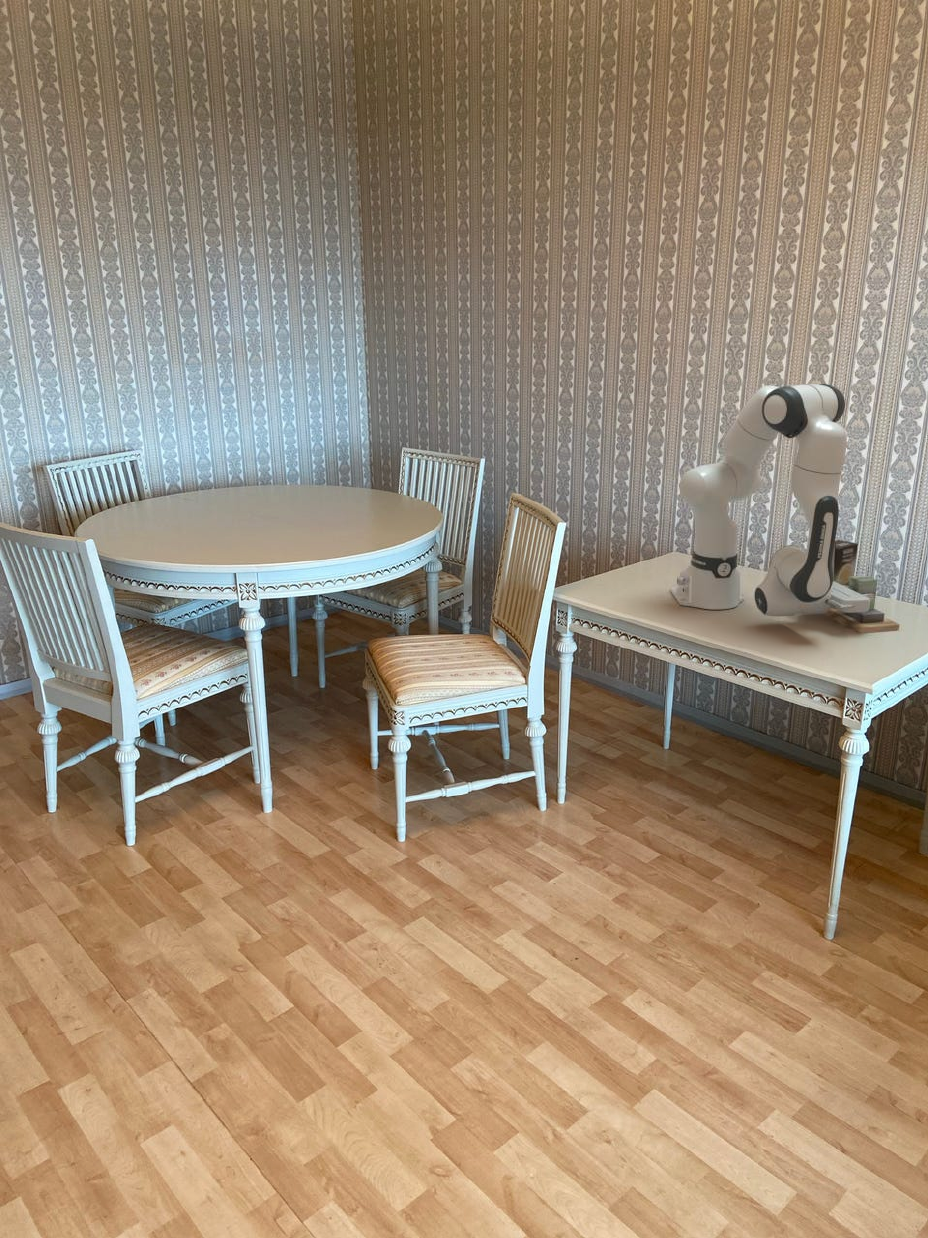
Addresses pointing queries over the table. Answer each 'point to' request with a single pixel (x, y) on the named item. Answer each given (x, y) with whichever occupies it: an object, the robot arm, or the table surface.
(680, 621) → the table surface
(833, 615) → the pine board
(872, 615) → the block
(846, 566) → the coffee box
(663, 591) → the table surface
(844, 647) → the table surface
